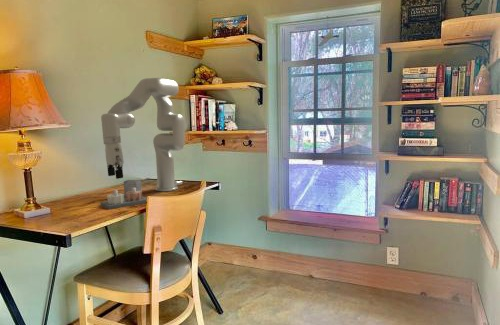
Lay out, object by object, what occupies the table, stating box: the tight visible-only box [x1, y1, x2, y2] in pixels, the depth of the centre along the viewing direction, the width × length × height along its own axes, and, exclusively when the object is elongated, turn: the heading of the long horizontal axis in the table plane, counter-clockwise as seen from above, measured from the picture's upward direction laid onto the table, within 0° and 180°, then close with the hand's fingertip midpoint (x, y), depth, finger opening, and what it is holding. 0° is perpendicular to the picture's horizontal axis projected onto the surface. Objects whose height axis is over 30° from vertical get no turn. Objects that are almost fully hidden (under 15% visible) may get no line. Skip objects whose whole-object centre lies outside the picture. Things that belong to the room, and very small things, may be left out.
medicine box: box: [123, 179, 143, 198], centre depth 195 cm, size 8×4×9 cm, turn 71°
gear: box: [106, 192, 125, 204], centre depth 177 cm, size 7×7×4 cm
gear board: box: [99, 188, 148, 210], centre depth 180 cm, size 20×11×7 cm, turn 130°
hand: (115, 176), depth 177 cm, fingers open, 9 cm apart
